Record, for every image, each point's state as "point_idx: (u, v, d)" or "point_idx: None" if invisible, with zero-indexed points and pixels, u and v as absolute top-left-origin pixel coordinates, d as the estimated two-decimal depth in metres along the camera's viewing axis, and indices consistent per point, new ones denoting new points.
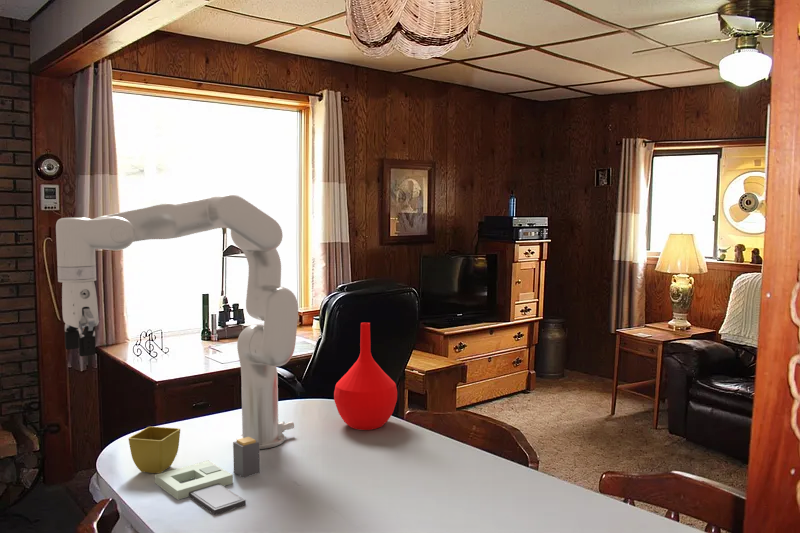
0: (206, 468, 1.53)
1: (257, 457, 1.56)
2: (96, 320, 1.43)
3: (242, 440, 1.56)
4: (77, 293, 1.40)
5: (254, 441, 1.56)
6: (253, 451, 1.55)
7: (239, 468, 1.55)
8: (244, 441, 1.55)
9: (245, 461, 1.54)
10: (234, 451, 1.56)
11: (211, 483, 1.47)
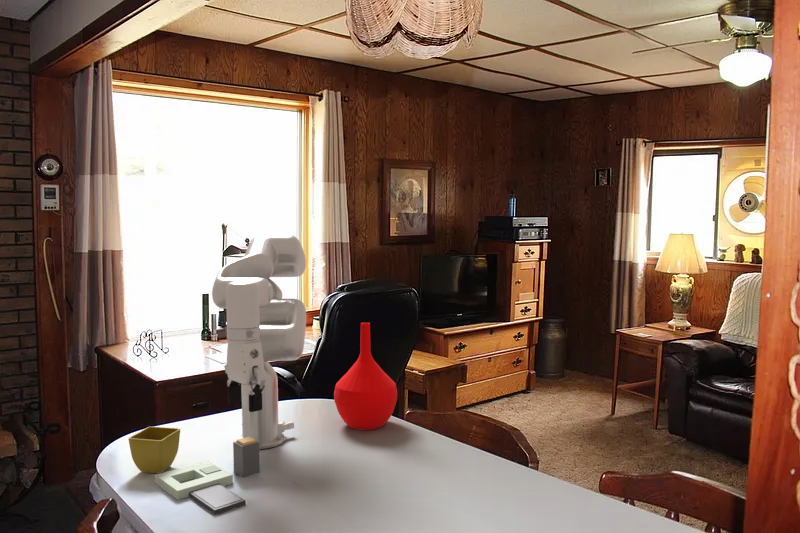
0: (206, 468, 1.53)
1: (257, 457, 1.56)
2: None
3: (242, 440, 1.56)
4: (248, 353, 1.50)
5: (254, 441, 1.56)
6: (253, 451, 1.55)
7: (239, 468, 1.55)
8: (244, 441, 1.55)
9: (245, 461, 1.54)
10: (234, 451, 1.56)
11: (211, 483, 1.47)
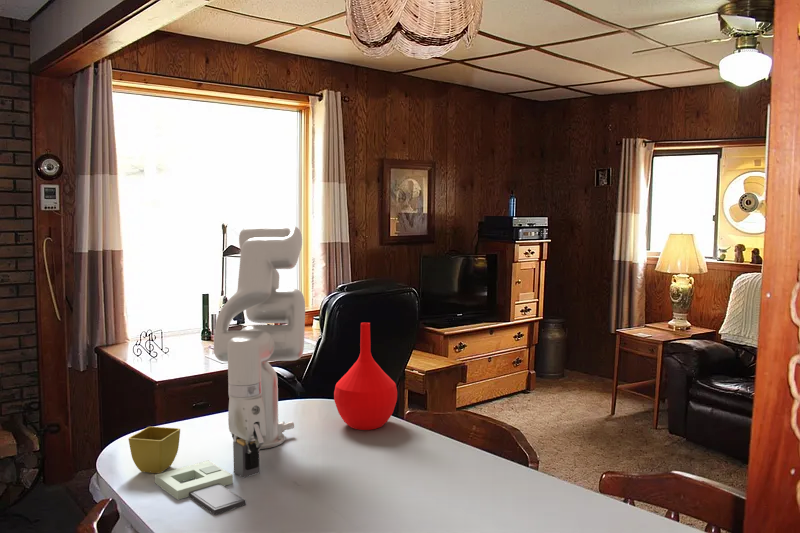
0: (206, 468, 1.53)
1: None
2: (264, 433, 1.54)
3: (242, 440, 1.56)
4: (249, 410, 1.51)
5: None
6: None
7: (239, 468, 1.55)
8: (244, 441, 1.55)
9: None
10: (234, 451, 1.56)
11: (211, 483, 1.47)
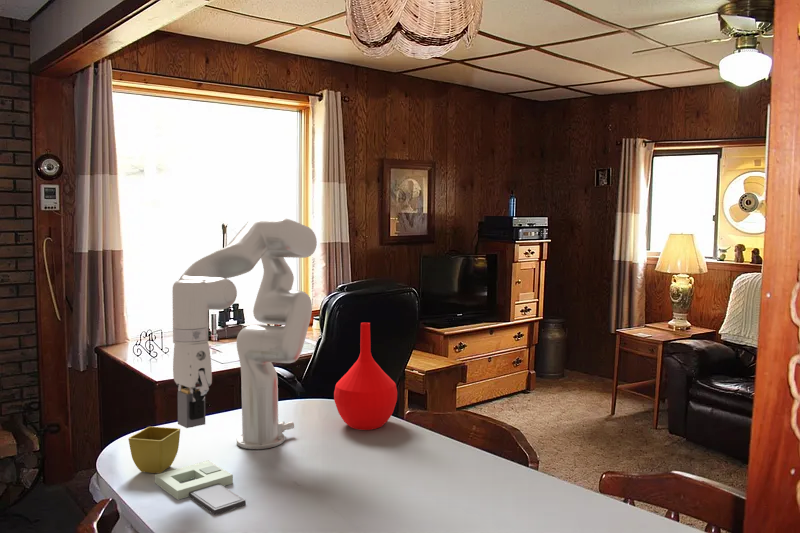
0: (206, 468, 1.53)
1: None
2: (210, 380, 1.46)
3: (187, 389, 1.48)
4: (194, 355, 1.44)
5: None
6: None
7: (183, 418, 1.47)
8: (189, 390, 1.47)
9: None
10: (178, 400, 1.48)
11: (211, 483, 1.47)
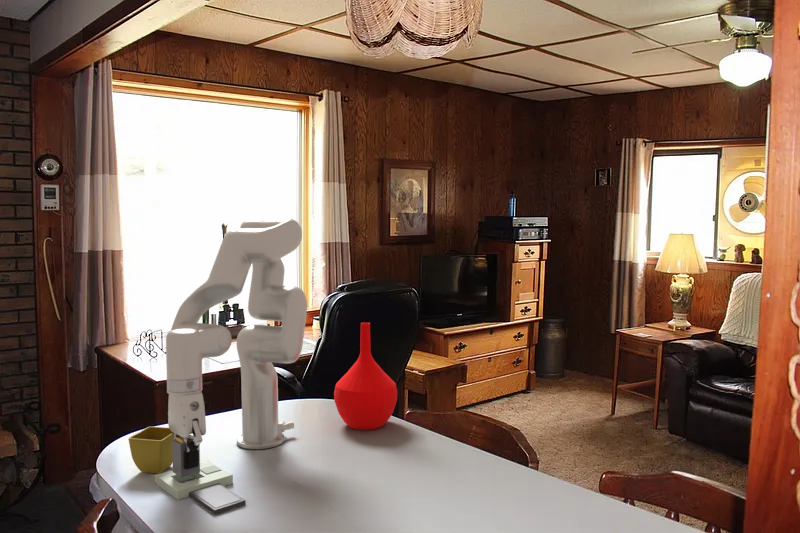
0: (206, 468, 1.53)
1: None
2: (204, 430, 1.46)
3: (181, 438, 1.48)
4: (187, 406, 1.44)
5: None
6: None
7: (177, 467, 1.47)
8: (183, 439, 1.47)
9: (183, 460, 1.46)
10: (173, 449, 1.48)
11: (211, 483, 1.47)
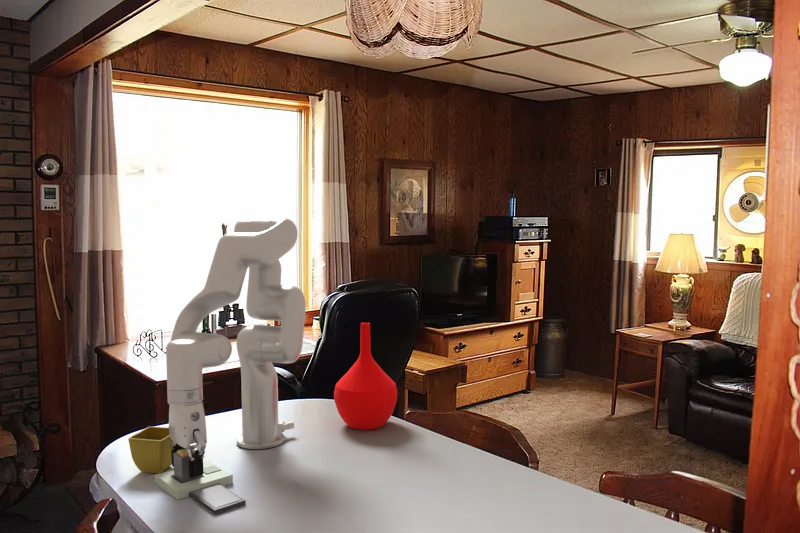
0: (206, 468, 1.53)
1: None
2: (205, 440, 1.46)
3: (182, 451, 1.48)
4: (188, 416, 1.44)
5: None
6: None
7: (179, 480, 1.48)
8: (184, 452, 1.48)
9: (184, 473, 1.47)
10: (174, 462, 1.49)
11: (211, 483, 1.47)
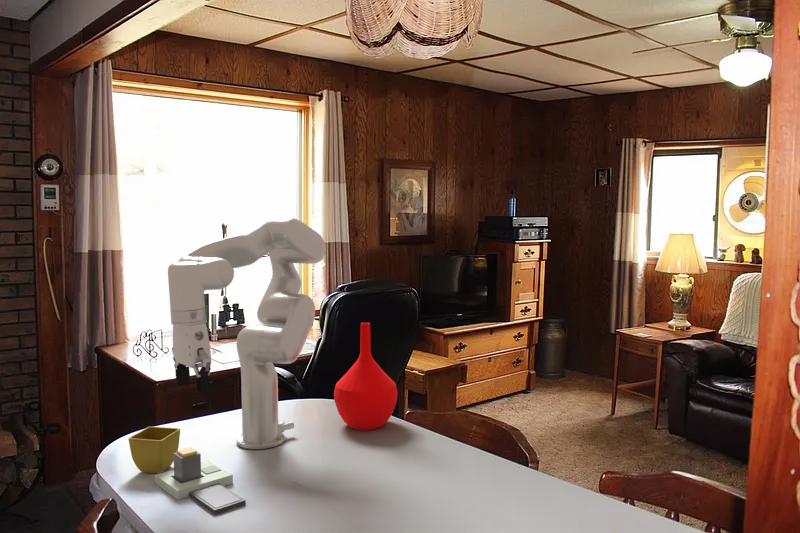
0: (206, 468, 1.53)
1: (198, 469, 1.49)
2: None
3: (182, 451, 1.48)
4: (192, 335, 1.47)
5: (195, 452, 1.49)
6: (194, 462, 1.48)
7: (179, 480, 1.48)
8: (184, 452, 1.48)
9: (184, 473, 1.47)
10: (174, 462, 1.49)
11: (211, 483, 1.47)
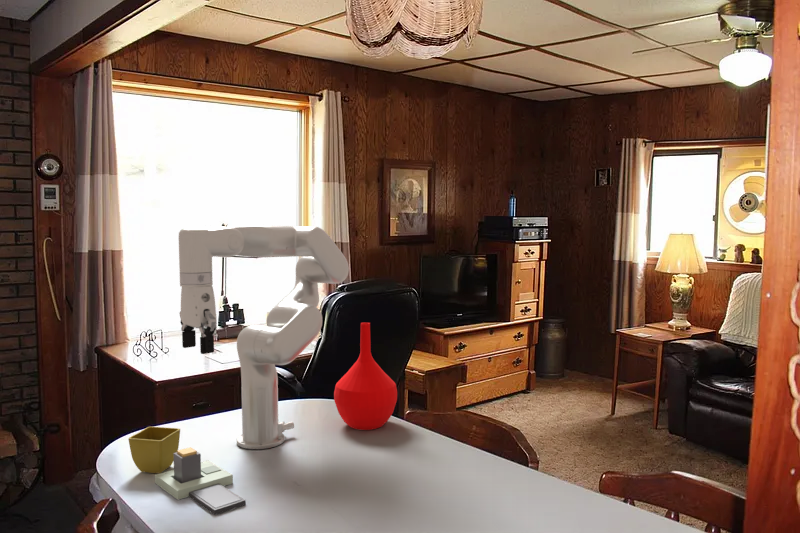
0: (206, 468, 1.53)
1: (198, 469, 1.49)
2: None
3: (182, 451, 1.48)
4: (199, 297, 1.55)
5: (195, 452, 1.49)
6: (194, 462, 1.48)
7: (179, 480, 1.48)
8: (184, 452, 1.48)
9: (184, 473, 1.47)
10: (174, 462, 1.49)
11: (211, 483, 1.47)
